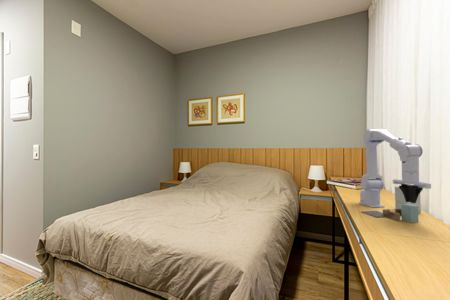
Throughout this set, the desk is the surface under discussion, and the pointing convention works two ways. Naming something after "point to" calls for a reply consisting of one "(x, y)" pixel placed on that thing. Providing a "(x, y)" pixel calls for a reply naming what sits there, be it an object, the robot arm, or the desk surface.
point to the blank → (409, 213)
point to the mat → (374, 213)
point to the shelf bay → (393, 214)
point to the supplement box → (401, 200)
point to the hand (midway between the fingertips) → (410, 202)
